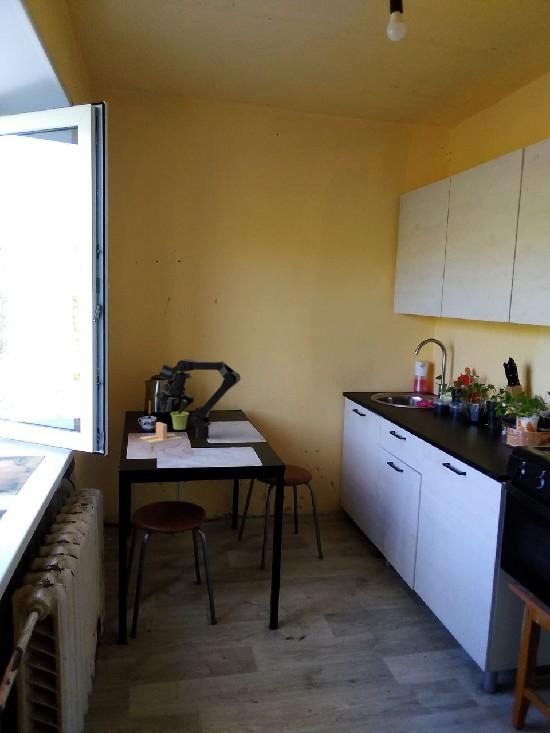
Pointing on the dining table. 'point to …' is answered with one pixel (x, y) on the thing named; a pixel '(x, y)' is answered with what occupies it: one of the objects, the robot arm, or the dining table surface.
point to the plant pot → (179, 420)
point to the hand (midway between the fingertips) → (170, 413)
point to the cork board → (155, 439)
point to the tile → (161, 430)
